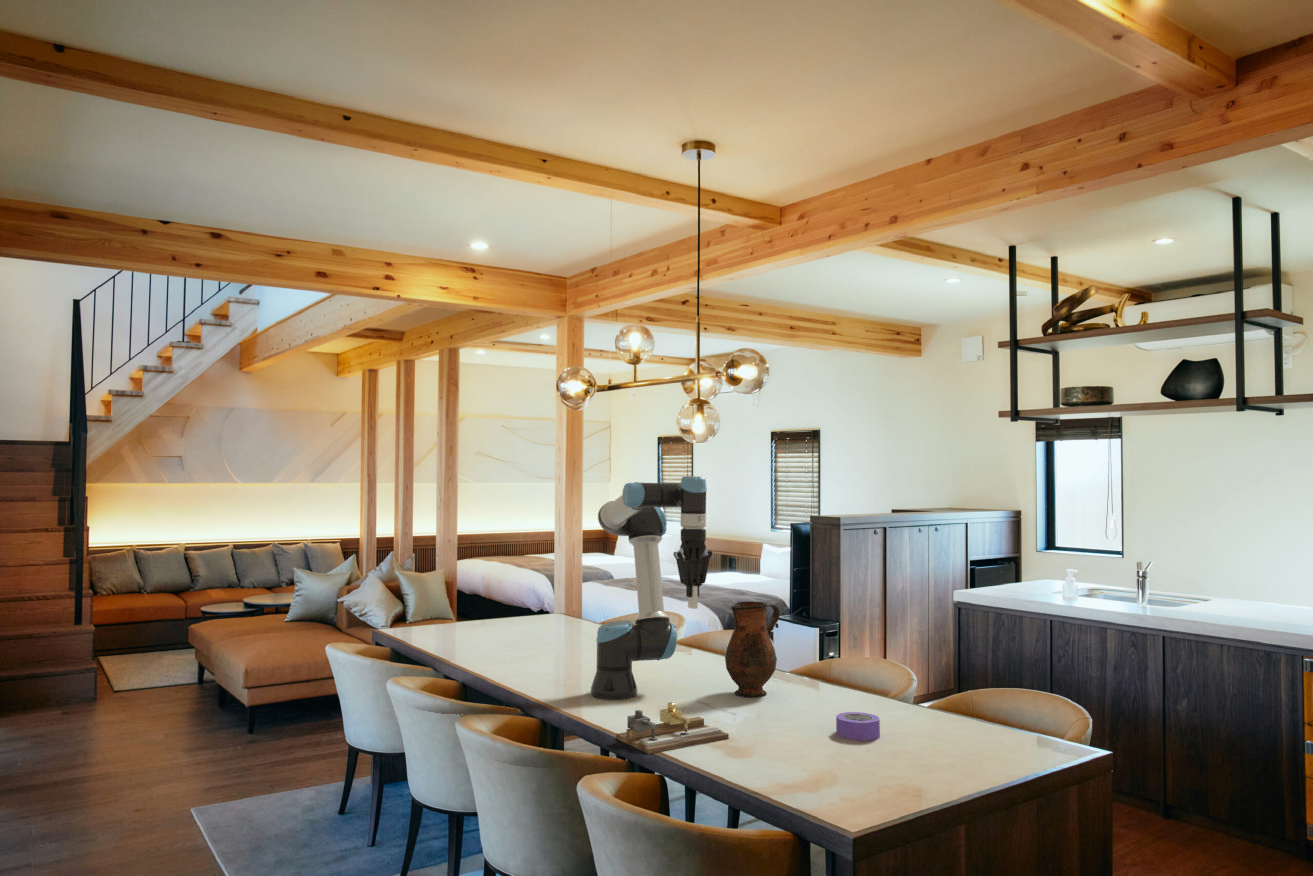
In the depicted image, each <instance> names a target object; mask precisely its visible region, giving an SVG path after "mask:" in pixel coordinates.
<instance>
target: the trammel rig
mask: <svg viewBox="0 0 1313 876" xmlns="http://www.w3.org/2000/svg"><path fill="white" fill-rule="evenodd" d="M643 714H644V713H643V710H640V709H637V710H635V711H634V714H633V715H627V723H626V724H627V729H626V731H625V732H620V733H616V734H615V736H616V737H615V739H616V740H618V741H621V742H622V743H624V744H627V745H629V746H630V747H631V746H632V747H634V748H635V749H637V750H640V751H641V752H643V753H646V754H647V755H650V754H655V753H661V752H666V751H671V750H675V749H677V750H678V749H681V748H686V747H691V746H697V745H702V744H707V743H713V742H717V741H722V740H723V741H724V740H728V739H729V733H727V732H724V731H723V730H722V729H720V728H718V727H715V726H709V725H706V724H705V719H704V718H703V717H701V716H696V717H691V718H689V719H690V723H688V730H687V732H685V723H684V722H682V723H679V724H674V725H669V724H666V723H664V722H662V723H661V722H660V723H655V722H652V721H651V718H650V717H648V716H646V715H643Z"/></svg>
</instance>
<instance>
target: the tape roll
mask: <svg viewBox="0 0 1313 876" xmlns="http://www.w3.org/2000/svg"><path fill="white" fill-rule="evenodd" d="M835 719H836V720H835V721H836V723H835V724H836V725H835V726H836V728H835V729H836V735H837V737H840V738H842V739H845V740H850V741H859V742H865V741H866V742H869V741H875V740H877V739H879V738H880V737H881V729H880V728H881V727H880V726H881V725H880V723H881V722H880V719H881V718H880V717H879V716H878V715H876V714H872V713H869V712H862V711H861V712H859V711H849V712H847V711H846V712H841V713H838V714H836V716H835Z"/></svg>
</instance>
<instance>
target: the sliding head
mask: <svg viewBox="0 0 1313 876" xmlns="http://www.w3.org/2000/svg"><path fill="white" fill-rule="evenodd" d="M659 721H660V722H662V723H666V724H669V725H674V724H679V723H682V722H684V723H685V732H687V730H688V723H690V719H689V718H688V717H686V716H683V711H681V710H678V709H676V703H675V702H667V708H662V709H660V710H659Z"/></svg>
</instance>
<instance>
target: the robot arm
mask: <svg viewBox="0 0 1313 876" xmlns="http://www.w3.org/2000/svg"><path fill="white" fill-rule="evenodd" d="M707 490H708V488H707V479H706V478H705V477H704V476H694V475H693V476H683V477H681V481H680V482H638V481H635V482H627V483H625V484H624V486H623V488H622V494H621V495H620V496H619V497H618V498H616V499H615V500H610V501H608V502H606V503H604V504H603V505H602V506H601V507H600V508H599V511H598V513H597V521H598V523H599V525H600V527H601V528H602V529H603V530H604V531H605V532H607V533H608V534H610V535H613V536H616V537H617V536H618V537H619V536H620V537H628V542H629V544H631V545H632V546H633V555H634V567H635V579H636V580H635V581H636V591H637V592H636V595H637V604H638V605H637V606H638V616H637V617H636V619H635V620H634V622H635V624H633V622H632V621H630V620H615V621H614V620H613V621H609V622H606V623H603V624H602V625H600V626H599V627H598V629H597V634H596V641H595V642H596V672H595V674H594V677H593V681H592V683H591V687H590V695H591V696H592V697H593V698H596V699H600V700H610V701H611V700H612V701H613V700H615V701H616V700H617V701H618V700H626V699H631V698H634V697H637V695H638V687H637V684H636V680H635V677H634V673H633V662H638V661H639V662H643V661H660V660H668V659H671V657H672V656H673V655H674V653H675V651H676V647H677V644H678V643H677V642H678V631H677V628H676V625H675V624H674V623H672V622H670V617H669V616H668V615H667V614H666V613H665V607H664V598H663V585H662V584H663V583H662V574H661V564H660V563H661V560H660V550H659V549H660V548H659V544H660V542H661V541H662V540H663V536H664V535H665V534H666V531H667V525H668V524H667V516H666V513H665V510H664V508H675V509H680V527H682V528H681V529H680V541H681V544H680V547H679V549H678V550H677V551H674V552H673V557H674V559H675V560H676V565H677V571H678V575H679V581H680V584H683V585H684V586H685V587H686V591H685V592H686V594H685V595H686V597H687V608H688V609H692V610H695V609H698V601H699V600H698V597H700V587H701V586H702V585H703V584H705V583H706V580H707V575H708V568H709V564H710V559H711V557H712V555H713V551H712V550H708V548H707V546H706V540H707V530H706V528H705V527H706V526H707Z"/></svg>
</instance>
